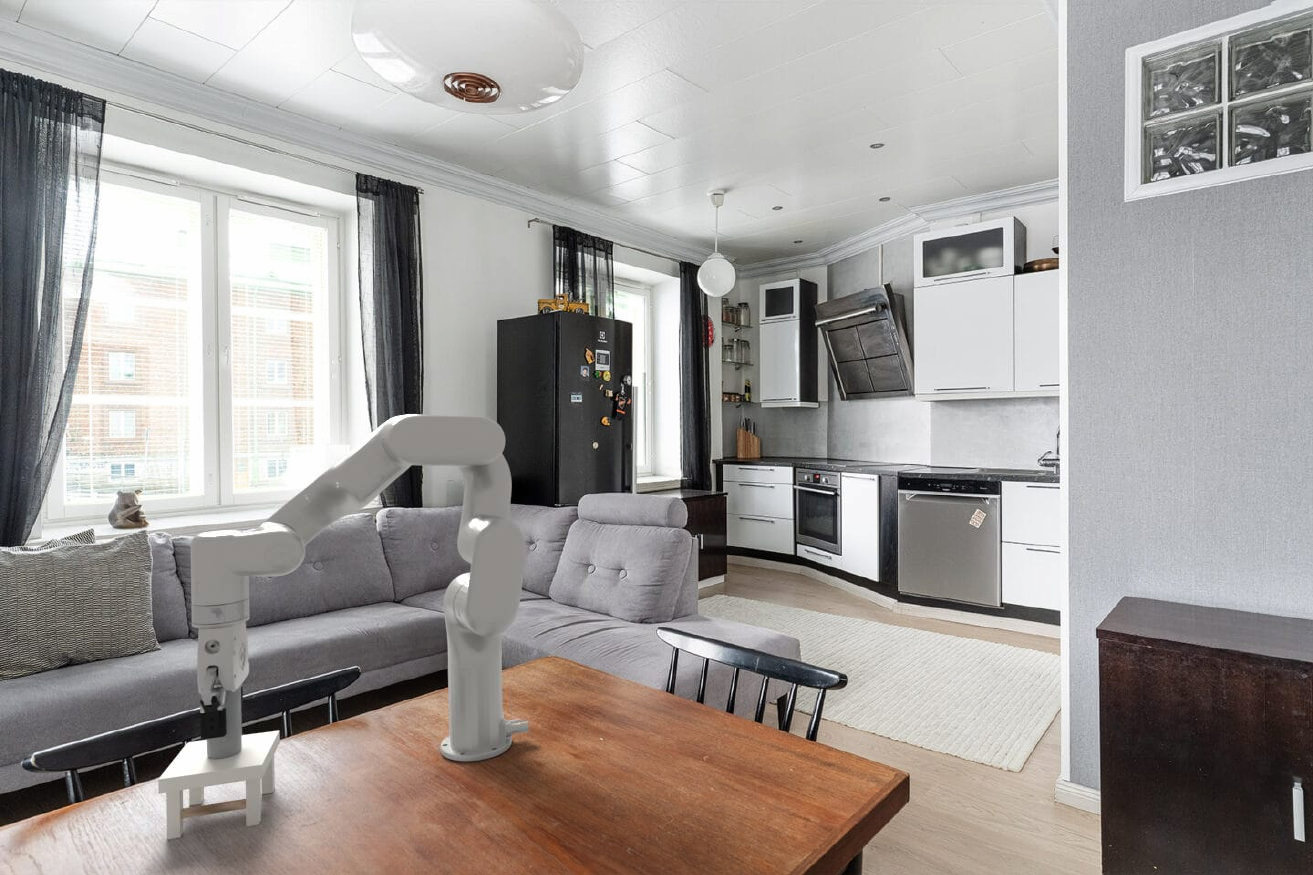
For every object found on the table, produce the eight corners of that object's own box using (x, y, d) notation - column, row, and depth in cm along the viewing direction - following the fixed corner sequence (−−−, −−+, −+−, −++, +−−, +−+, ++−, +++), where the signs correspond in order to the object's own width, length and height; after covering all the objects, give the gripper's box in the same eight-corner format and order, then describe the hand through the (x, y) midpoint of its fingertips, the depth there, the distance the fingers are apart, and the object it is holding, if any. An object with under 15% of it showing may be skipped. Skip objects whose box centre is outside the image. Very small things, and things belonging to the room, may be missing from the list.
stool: (280, 785, 116) (279, 730, 116) (263, 825, 104) (262, 764, 104) (188, 799, 112) (187, 742, 112) (159, 843, 100) (158, 779, 100)
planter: (225, 760, 105) (224, 691, 105) (199, 758, 106) (198, 689, 106) (248, 747, 110) (247, 680, 110) (223, 745, 110) (222, 679, 111)
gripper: (234, 623, 101) (236, 743, 101) (261, 598, 117) (263, 701, 117) (173, 629, 98) (175, 752, 98) (209, 602, 115) (211, 708, 115)
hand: (223, 724), depth 108 cm, fingers open, 9 cm apart
